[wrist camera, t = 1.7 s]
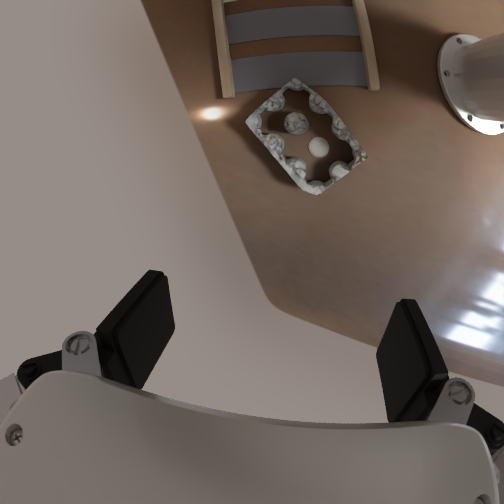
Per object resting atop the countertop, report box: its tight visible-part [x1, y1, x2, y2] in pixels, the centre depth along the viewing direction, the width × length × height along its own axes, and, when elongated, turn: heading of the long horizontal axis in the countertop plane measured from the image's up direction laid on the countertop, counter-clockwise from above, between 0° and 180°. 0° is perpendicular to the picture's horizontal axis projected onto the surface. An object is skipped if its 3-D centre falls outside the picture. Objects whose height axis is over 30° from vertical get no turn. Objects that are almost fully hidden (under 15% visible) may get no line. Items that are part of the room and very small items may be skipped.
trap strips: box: [225, 6, 368, 93], centre depth 22 cm, size 14×10×1 cm
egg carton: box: [246, 78, 367, 195], centre depth 25 cm, size 11×8×4 cm
